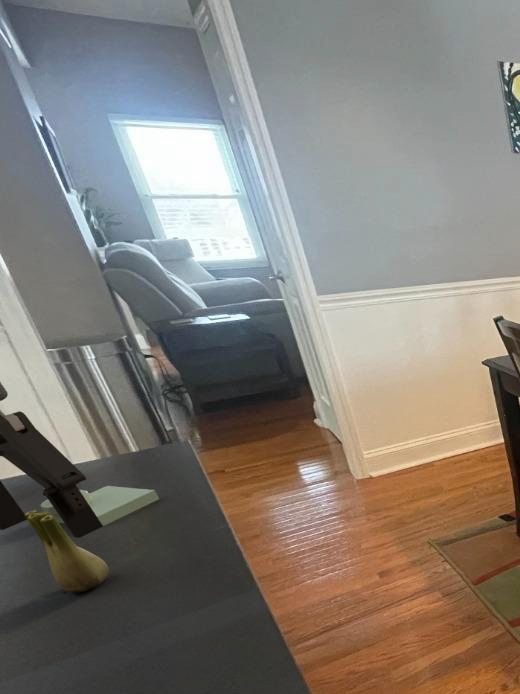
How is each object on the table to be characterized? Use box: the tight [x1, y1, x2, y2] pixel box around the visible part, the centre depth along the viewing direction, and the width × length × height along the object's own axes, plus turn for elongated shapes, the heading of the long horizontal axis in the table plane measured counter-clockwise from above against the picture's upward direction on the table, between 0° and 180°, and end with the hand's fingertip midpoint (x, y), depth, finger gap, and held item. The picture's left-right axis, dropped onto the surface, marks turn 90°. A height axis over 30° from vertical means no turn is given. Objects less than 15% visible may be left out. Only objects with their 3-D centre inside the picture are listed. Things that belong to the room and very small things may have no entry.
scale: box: [40, 485, 160, 527], centre depth 101 cm, size 12×10×4 cm
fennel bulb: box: [24, 509, 110, 594], centre depth 81 cm, size 6×5×12 cm
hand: (51, 528), depth 79 cm, fingers open, 13 cm apart
